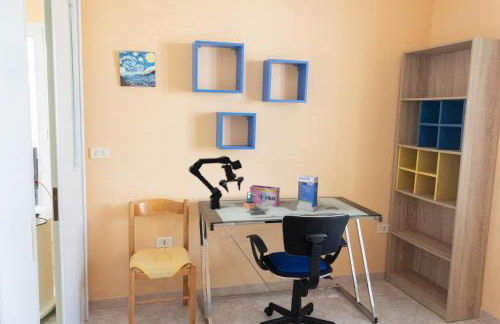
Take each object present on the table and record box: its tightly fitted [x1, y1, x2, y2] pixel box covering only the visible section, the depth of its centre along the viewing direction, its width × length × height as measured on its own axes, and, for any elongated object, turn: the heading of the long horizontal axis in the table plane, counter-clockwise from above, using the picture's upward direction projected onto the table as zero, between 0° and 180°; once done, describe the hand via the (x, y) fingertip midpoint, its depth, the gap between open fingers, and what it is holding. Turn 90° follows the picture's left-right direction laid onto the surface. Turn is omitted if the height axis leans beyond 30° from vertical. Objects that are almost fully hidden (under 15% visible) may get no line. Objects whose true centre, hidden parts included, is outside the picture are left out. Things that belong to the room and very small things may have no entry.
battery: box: [246, 190, 253, 204], centre depth 296 cm, size 4×4×13 cm
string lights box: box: [297, 174, 319, 212], centre depth 299 cm, size 13×8×26 cm, turn 56°
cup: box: [243, 200, 256, 210], centre depth 297 cm, size 8×8×5 cm
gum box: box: [249, 184, 281, 207], centre depth 314 cm, size 24×8×14 cm, turn 69°
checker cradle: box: [246, 207, 267, 217], centre depth 282 cm, size 11×11×4 cm
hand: (234, 191), depth 299 cm, fingers open, 9 cm apart
